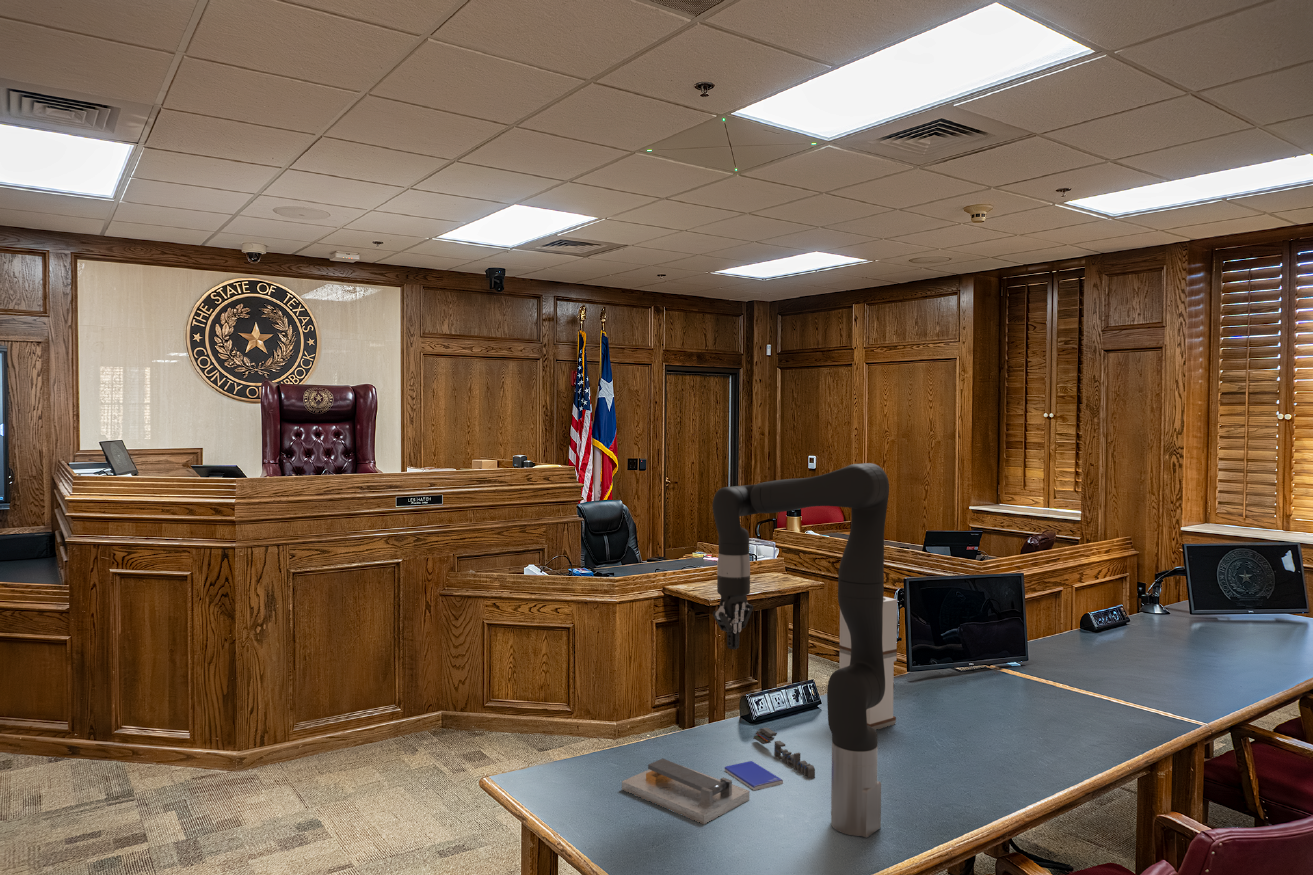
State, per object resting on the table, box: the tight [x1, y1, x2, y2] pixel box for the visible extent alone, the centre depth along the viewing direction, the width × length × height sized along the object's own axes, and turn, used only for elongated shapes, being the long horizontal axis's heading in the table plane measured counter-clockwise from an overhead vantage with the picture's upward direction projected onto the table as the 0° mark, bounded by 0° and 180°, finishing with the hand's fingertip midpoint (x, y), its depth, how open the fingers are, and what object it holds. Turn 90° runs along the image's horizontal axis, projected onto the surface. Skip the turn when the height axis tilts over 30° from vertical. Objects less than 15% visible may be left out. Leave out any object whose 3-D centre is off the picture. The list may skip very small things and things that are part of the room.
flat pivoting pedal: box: [647, 758, 727, 796], centre depth 186 cm, size 19×5×2 cm, turn 48°
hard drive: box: [724, 760, 784, 791], centre depth 196 cm, size 2×8×12 cm
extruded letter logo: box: [752, 727, 816, 780], centre depth 207 cm, size 25×2×6 cm, turn 25°
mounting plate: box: [621, 762, 750, 825], centre depth 186 cm, size 24×16×5 cm, turn 48°
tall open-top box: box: [838, 596, 898, 731], centre depth 234 cm, size 11×11×35 cm
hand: (733, 648), depth 191 cm, fingers closed
